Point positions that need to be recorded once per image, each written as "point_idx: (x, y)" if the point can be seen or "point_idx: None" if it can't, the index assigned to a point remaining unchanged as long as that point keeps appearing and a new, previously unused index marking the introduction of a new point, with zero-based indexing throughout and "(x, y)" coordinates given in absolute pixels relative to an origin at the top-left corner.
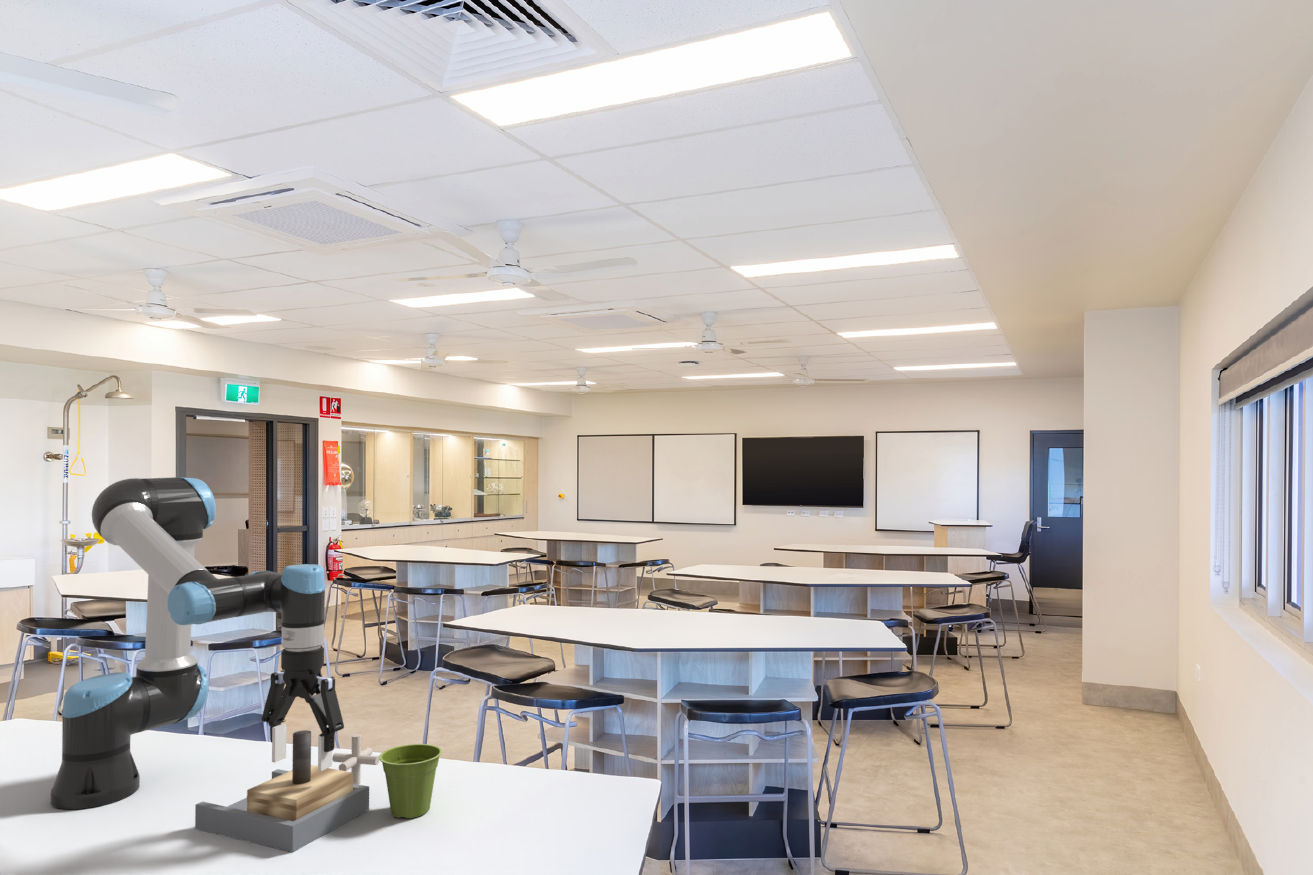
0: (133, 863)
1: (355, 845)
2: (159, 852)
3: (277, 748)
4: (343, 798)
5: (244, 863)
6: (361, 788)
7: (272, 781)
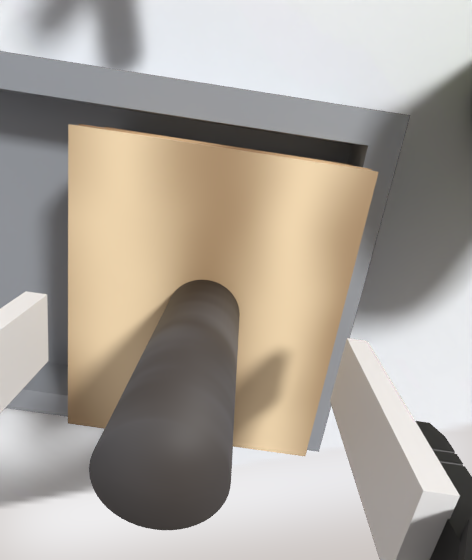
0: (9, 501)
1: (449, 344)
2: (12, 459)
3: (10, 385)
4: (362, 251)
5: (234, 462)
6: (385, 143)
7: (91, 342)
